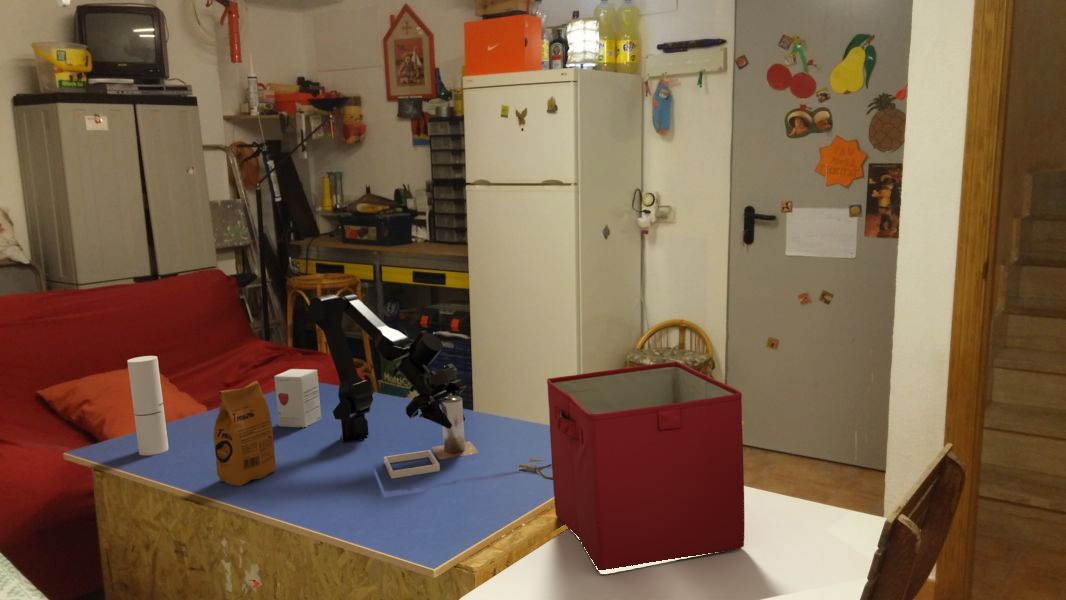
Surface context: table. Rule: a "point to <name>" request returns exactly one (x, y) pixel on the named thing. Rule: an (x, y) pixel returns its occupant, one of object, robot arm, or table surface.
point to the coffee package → (243, 436)
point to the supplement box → (297, 398)
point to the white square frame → (411, 471)
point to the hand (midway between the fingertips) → (457, 424)
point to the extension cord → (534, 467)
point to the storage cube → (647, 463)
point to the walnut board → (444, 455)
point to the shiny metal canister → (453, 424)
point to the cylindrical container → (148, 405)
